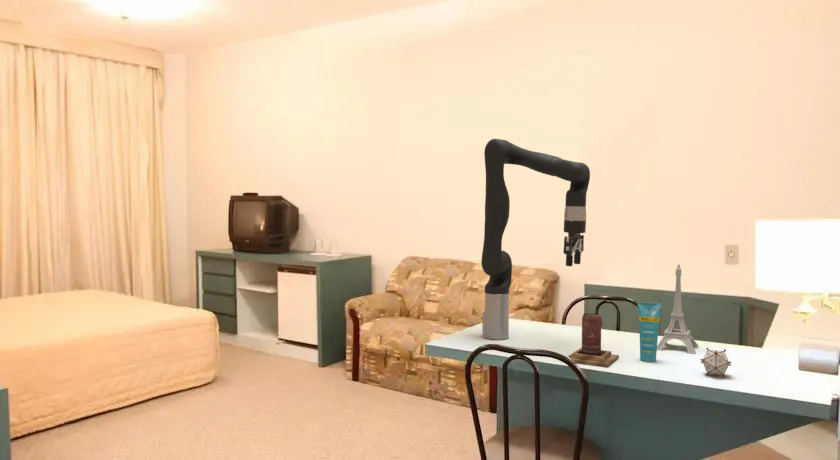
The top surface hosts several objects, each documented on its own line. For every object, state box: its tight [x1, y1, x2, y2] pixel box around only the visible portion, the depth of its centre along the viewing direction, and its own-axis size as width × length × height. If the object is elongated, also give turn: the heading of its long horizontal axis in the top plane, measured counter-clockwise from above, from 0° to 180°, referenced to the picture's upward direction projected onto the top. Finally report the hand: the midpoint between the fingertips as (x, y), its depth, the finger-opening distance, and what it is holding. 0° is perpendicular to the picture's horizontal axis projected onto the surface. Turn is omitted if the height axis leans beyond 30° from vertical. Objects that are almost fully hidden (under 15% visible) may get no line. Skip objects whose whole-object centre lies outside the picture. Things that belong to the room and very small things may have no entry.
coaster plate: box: [567, 347, 620, 369], centre depth 209 cm, size 14×14×2 cm
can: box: [581, 313, 603, 356], centre depth 208 cm, size 6×6×14 cm
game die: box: [700, 347, 732, 378], centre depth 190 cm, size 9×8×10 cm
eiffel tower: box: [657, 264, 700, 355], centre depth 225 cm, size 13×13×30 cm
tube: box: [636, 301, 662, 363], centre depth 208 cm, size 7×5×19 cm, turn 73°
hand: (573, 265), depth 224 cm, fingers open, 8 cm apart
